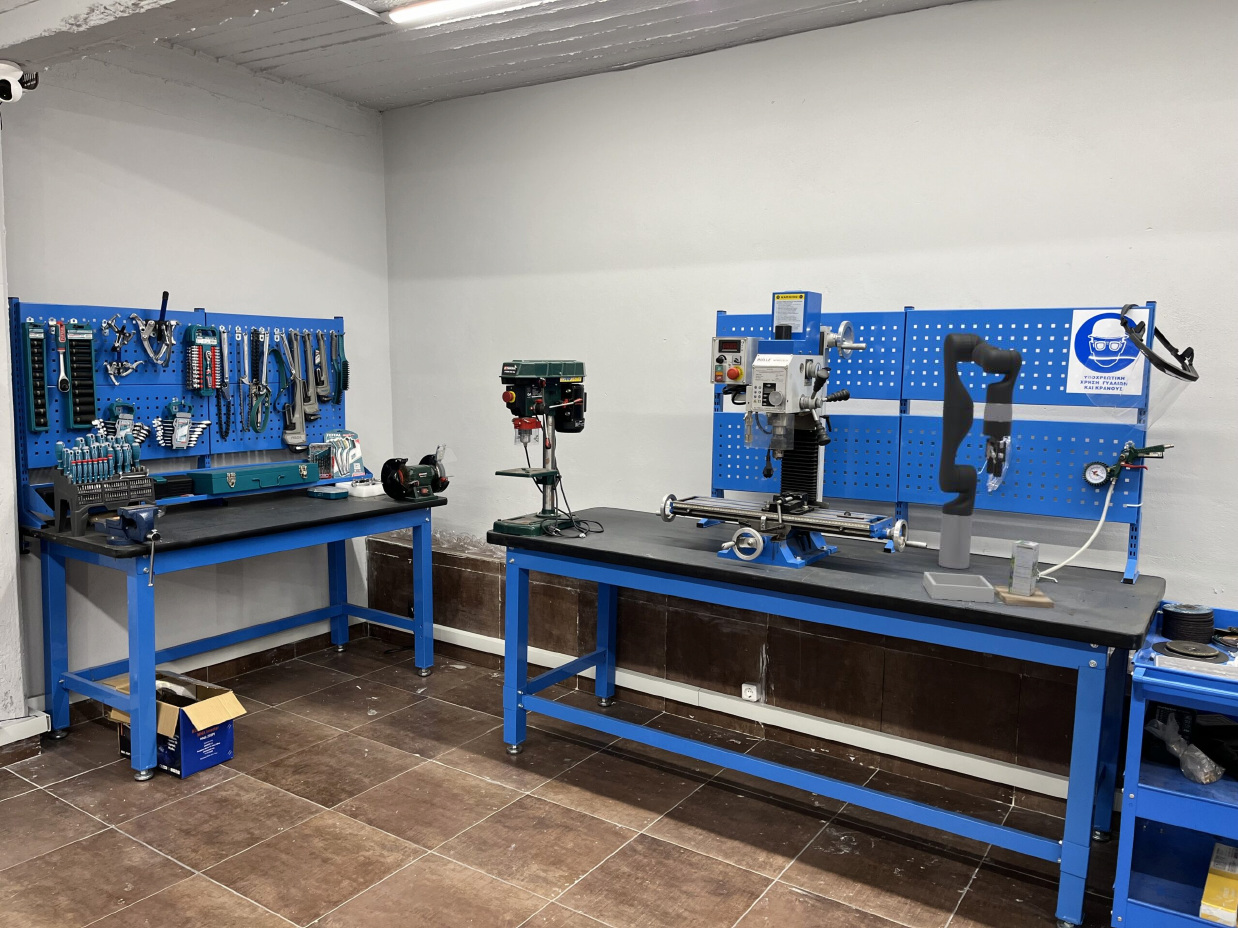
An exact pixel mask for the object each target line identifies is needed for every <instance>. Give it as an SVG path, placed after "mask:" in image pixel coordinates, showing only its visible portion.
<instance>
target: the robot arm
mask: <svg viewBox="0 0 1238 928" xmlns="http://www.w3.org/2000/svg"><path fill="white" fill-rule="evenodd" d="M942 356H943V374H944V375H943V376H944V379H943V380H944V384H943V385H944V387H943V388H944V389H943V391H944V392H943V403H942V441H941V442H942V443H941V451H940V453H941V454H940V463H939V469H938V470H939V471H938V484H939V489H940V490H941V492H943V493H946V494H958V495H957V497H956V498H953V499H952V500H951V501H948V502H946V503H943V504H942V506H941V507H942V508H941V524H940V536H939V537H940V538H939V553H938V565H939V566H940V567H943V568H949V569H962V570H963V569H964V570H965V569H968V568H969V567H970V557H971V556H970V555H971V539H972V527H973V511H974V508H975V503H976V495H977V486H978V472H977V470H976V468H975V466H974V465H971V464H956V456H957V453H958V450H959V447H960V445H961V444H962V443H963V441H964V440H965V438H966V437H967V435H968V434H969V433H970V431H971V430H972V427H973V424H974V415H975V414H974V412H975V409H974V408H975V405H974V401H973V398H972V396H971V394H970V393H969V391H968V390H967V388H966V387H965V385H964V384H963V382H962V379H961V378H960V377H961V376H960V375H959V370H958V363H972V362H973V363H974V364H976V366H978V367H980V368H982V369H981V370H982V371H983V372H984V373H986V374H990V375H1004V376H1003V378H1002V380H1000V381H996V382H991V383H988V384H987V386H986V392H985V395H986V396H985V405H984V411H983V423H982V425H983V426H982V435H983V436H988V437H986V438H985V440H986V441H985V453H984V458H985V460H986V469H985V472H986V474H990V475H992V477H994V478H1001V477H1002V473H1003V464H1004V463H1006V455H1007V444H1008V443H1007V441H1006V440H1004V437H1005V438H1006V437H1011V435H1012V423H1013V399H1014V398H1013V396H1014V395H1013V393H1014V389H1015V385H1016V382H1017V379H1018V376H1019V374H1020V371H1021V368H1022V364H1023V357H1022V354H1021V353H1020V351H1018V350H1016V349H1001V348H1000V347H998V346H996V345H992V344H989V343H987V341H985V339H984V338H983V337H981V336H980V335H978V334H976V333H972V332H971V333H965V332H962V333H961V332H950V333H948V334H946V336H945V338H944V342H943V355H942Z"/></svg>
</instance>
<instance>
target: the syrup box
mask: <svg viewBox="0 0 1238 928" xmlns="http://www.w3.org/2000/svg"><path fill="white" fill-rule="evenodd" d="M1039 555H1040V543H1037V542H1034V541H1029V540H1016V541H1015V542H1013V543H1012V548H1011V557H1010V568H1009V578H1008V579H1009V582H1008V587H1009V589H1008V593H1010V594H1016V595H1022V596H1029V597H1030V596H1031V595H1033V594H1034V593H1035V588H1036V586H1037V575H1038V567H1039V566H1038V564H1039Z"/></svg>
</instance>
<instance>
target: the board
mask: <svg viewBox="0 0 1238 928" xmlns="http://www.w3.org/2000/svg"><path fill="white" fill-rule="evenodd" d="M992 587H993V588H994V589H995V590H994V592H995V593H996V594H997V595H998V596H999V597H998V596H997V595H996V594H995V593H994V594H995V595H996V596H997V597H998V599H1000V600H1001V601H1002V602H1003V603H1004V604H1005V605H1006V606H1016V605H1017V607H1031V608H1032V607H1034V608H1049V609H1054V607H1055V602H1054V601H1053V600H1052V599H1050V598H1049V596H1047V595H1046V594H1045V593H1044V592H1042V591H1041V589H1039V588H1035V593H1034V594H1033V595H1031V596H1030V597H1029V596H1022V595H1016V594H1010V593H1008V589H1009V586H1004V585H992Z"/></svg>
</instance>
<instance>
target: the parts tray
mask: <svg viewBox="0 0 1238 928" xmlns="http://www.w3.org/2000/svg"><path fill="white" fill-rule="evenodd" d="M922 584H923V587H924V589H925V590H926V592H927V593H928V595H929V596H930V598H931V599H932V600H942V599H948V600H947V601H957V600H962V601H961V602H971V601H975V602H974V603H986V602H989V603H988V604H990V603H991V604H994V601H995V600H994V599H995V593H994V590H995V589H994V588H993V585H992V584H991V583H990V582H988V580H986V578H985V577H984V576H983V575H978V574H977V575H976V574H961V573H960V574H959V573H946V572H934V571H933V572H932V571H930V572H929V571H924V572H923V583H922Z"/></svg>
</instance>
